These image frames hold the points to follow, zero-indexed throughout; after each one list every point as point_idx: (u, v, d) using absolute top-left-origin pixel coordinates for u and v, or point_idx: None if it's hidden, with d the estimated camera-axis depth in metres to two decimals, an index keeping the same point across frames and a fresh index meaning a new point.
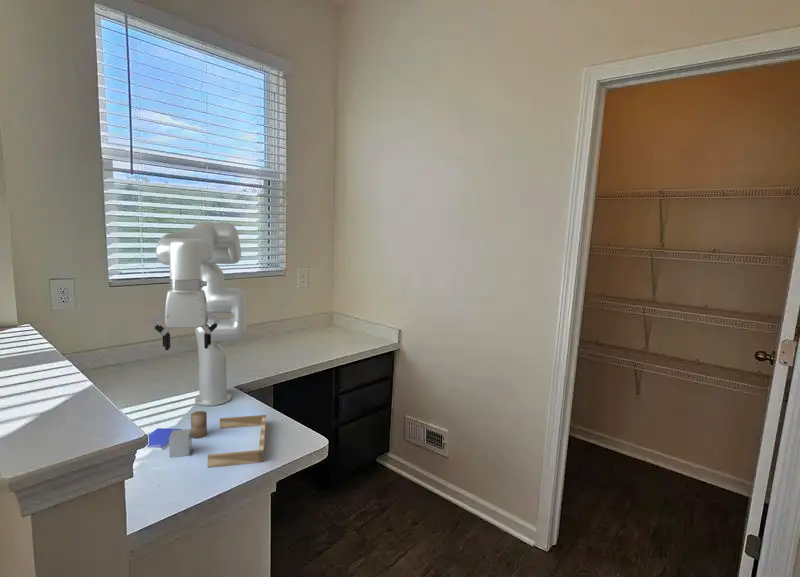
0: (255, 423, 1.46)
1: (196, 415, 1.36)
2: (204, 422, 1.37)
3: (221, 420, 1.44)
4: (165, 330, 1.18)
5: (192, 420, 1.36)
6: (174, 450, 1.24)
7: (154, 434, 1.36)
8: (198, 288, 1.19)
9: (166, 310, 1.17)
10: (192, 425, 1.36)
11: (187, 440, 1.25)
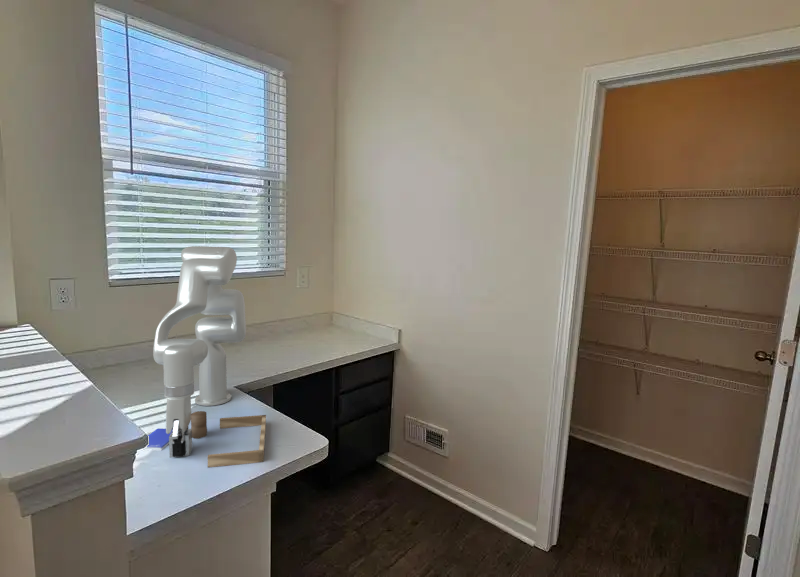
0: (255, 423, 1.46)
1: (196, 415, 1.36)
2: (204, 422, 1.37)
3: (221, 420, 1.44)
4: (183, 437, 1.24)
5: (192, 420, 1.36)
6: None
7: (154, 434, 1.36)
8: None
9: (184, 416, 1.22)
10: (192, 425, 1.36)
11: (187, 440, 1.25)
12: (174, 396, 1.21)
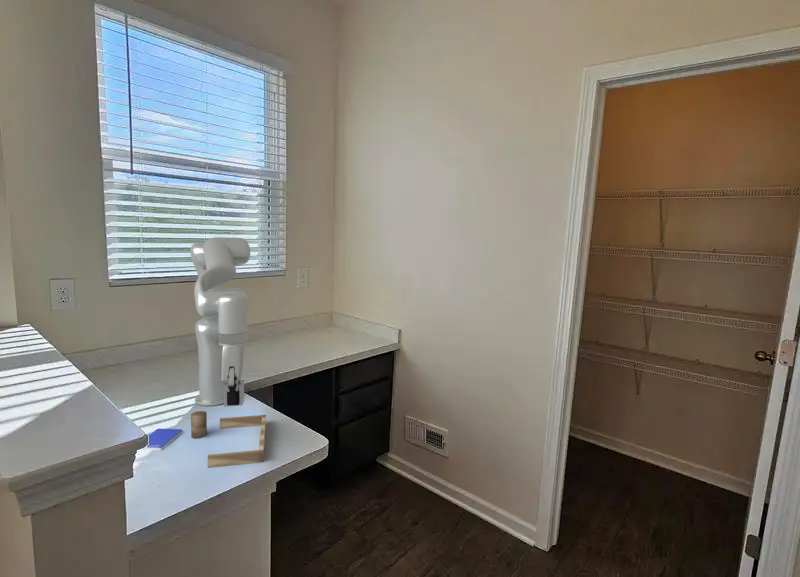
0: (255, 423, 1.46)
1: (196, 415, 1.36)
2: (204, 422, 1.37)
3: (221, 420, 1.44)
4: (237, 385, 1.23)
5: (192, 420, 1.36)
6: None
7: (154, 434, 1.36)
8: None
9: (239, 364, 1.21)
10: (192, 425, 1.36)
11: (241, 389, 1.24)
12: (229, 343, 1.21)
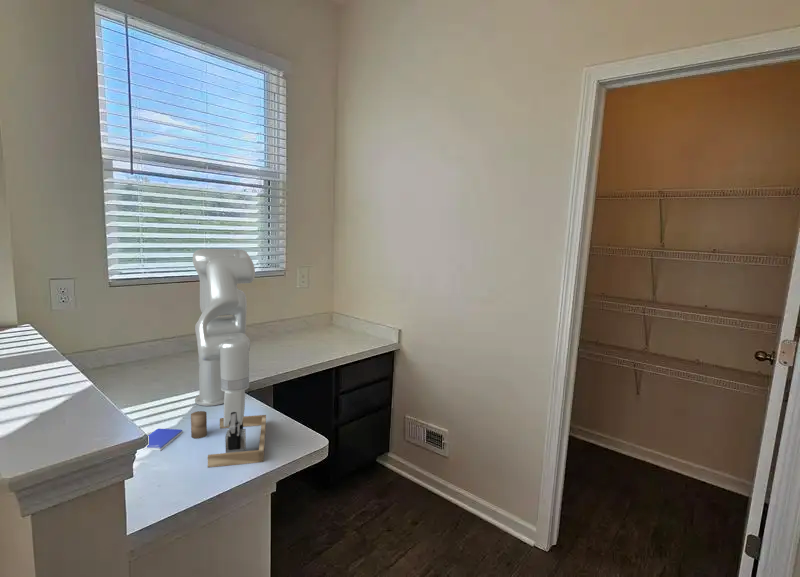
0: (255, 423, 1.46)
1: (196, 415, 1.36)
2: (204, 422, 1.37)
3: (221, 420, 1.44)
4: (239, 430, 1.23)
5: (192, 420, 1.36)
6: None
7: (154, 434, 1.36)
8: None
9: (241, 409, 1.23)
10: (192, 425, 1.36)
11: (243, 440, 1.26)
12: (231, 389, 1.22)
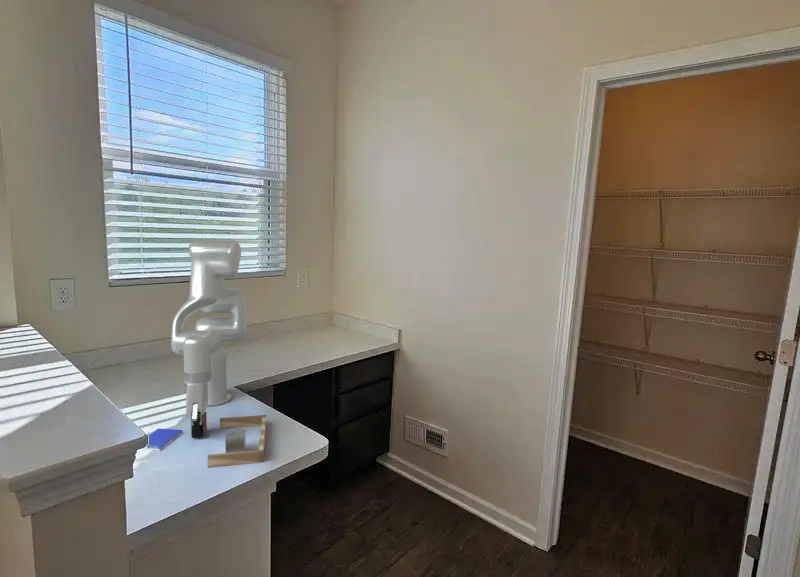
0: (255, 423, 1.46)
1: None
2: (204, 422, 1.37)
3: (221, 420, 1.44)
4: (201, 419, 1.35)
5: None
6: (230, 449, 1.26)
7: (154, 434, 1.36)
8: None
9: (202, 400, 1.33)
10: None
11: (243, 439, 1.26)
12: (193, 382, 1.33)
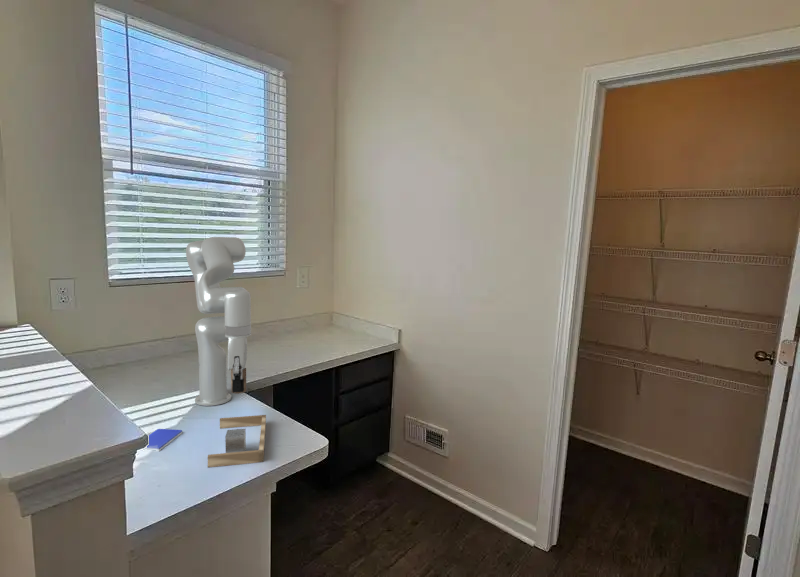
0: (255, 423, 1.46)
1: None
2: (244, 377, 1.37)
3: (221, 420, 1.44)
4: (242, 374, 1.35)
5: (232, 375, 1.36)
6: (230, 449, 1.26)
7: (154, 434, 1.36)
8: None
9: (243, 354, 1.33)
10: None
11: (243, 440, 1.26)
12: (235, 335, 1.32)
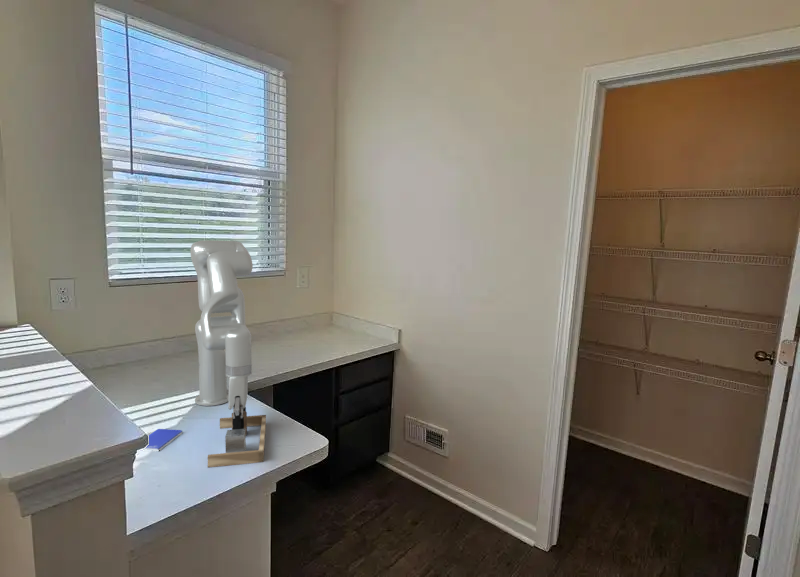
0: (255, 423, 1.46)
1: None
2: (245, 421, 1.39)
3: (221, 420, 1.44)
4: (242, 412, 1.35)
5: None
6: (230, 449, 1.26)
7: (154, 434, 1.36)
8: None
9: (244, 394, 1.34)
10: None
11: (243, 439, 1.26)
12: (235, 375, 1.34)
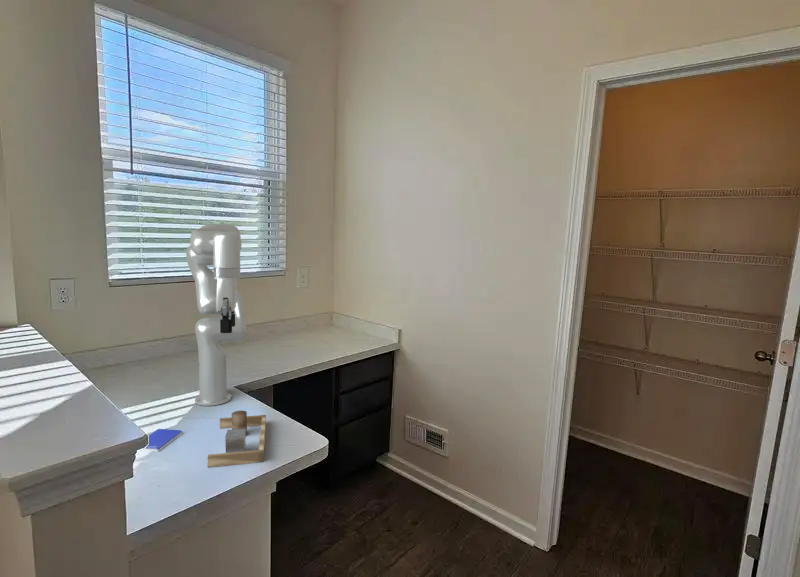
0: (255, 423, 1.46)
1: (237, 414, 1.38)
2: (245, 421, 1.39)
3: (221, 420, 1.44)
4: (230, 314, 1.31)
5: (233, 419, 1.37)
6: (230, 449, 1.26)
7: (154, 435, 1.36)
8: None
9: (232, 296, 1.31)
10: (233, 424, 1.37)
11: (243, 440, 1.26)
12: (223, 277, 1.31)
